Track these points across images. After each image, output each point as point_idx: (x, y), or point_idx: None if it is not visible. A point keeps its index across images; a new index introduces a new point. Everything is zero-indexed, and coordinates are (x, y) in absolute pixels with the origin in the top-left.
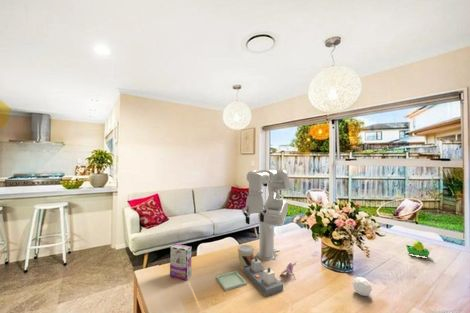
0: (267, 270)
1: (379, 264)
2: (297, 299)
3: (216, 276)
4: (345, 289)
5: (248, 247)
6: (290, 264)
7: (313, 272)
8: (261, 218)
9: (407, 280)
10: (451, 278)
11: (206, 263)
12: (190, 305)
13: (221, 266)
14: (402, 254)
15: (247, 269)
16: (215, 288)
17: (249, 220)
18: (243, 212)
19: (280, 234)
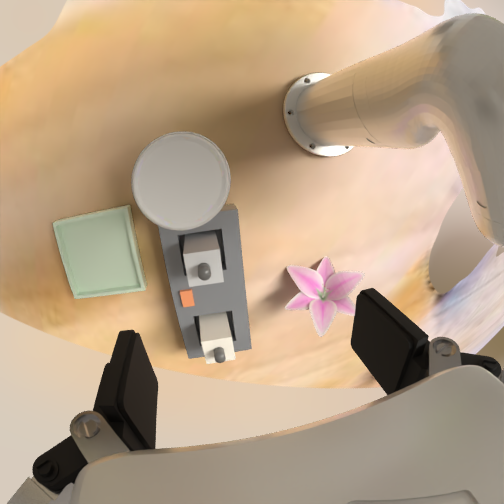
0: (216, 345)
1: (490, 279)
2: (264, 362)
3: (53, 222)
4: None
5: (202, 173)
6: (327, 317)
7: (389, 274)
8: (374, 348)
9: (468, 330)
10: (494, 329)
11: (47, 97)
12: (10, 309)
13: (90, 131)
14: None
15: (167, 239)
16: (53, 268)
17: (153, 418)
18: (46, 501)
19: (445, 17)
